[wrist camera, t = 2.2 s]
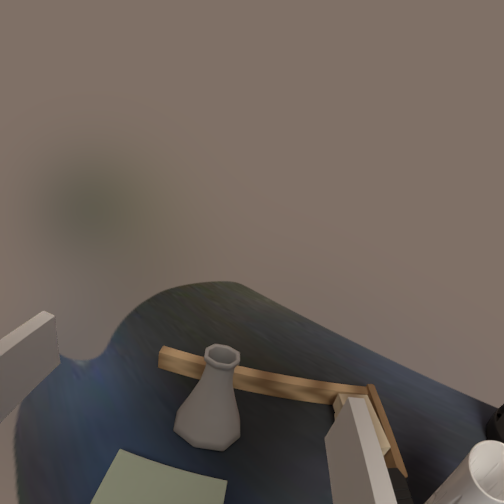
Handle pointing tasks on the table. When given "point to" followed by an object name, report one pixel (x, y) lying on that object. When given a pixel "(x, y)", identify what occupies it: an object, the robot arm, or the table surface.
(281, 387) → the corner fence
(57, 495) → the table surface
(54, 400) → the table surface
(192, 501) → the coaster
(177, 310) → the table surface
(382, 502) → the robot arm
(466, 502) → the white cup
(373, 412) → the offcut top
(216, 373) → the flask
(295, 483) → the table surface
